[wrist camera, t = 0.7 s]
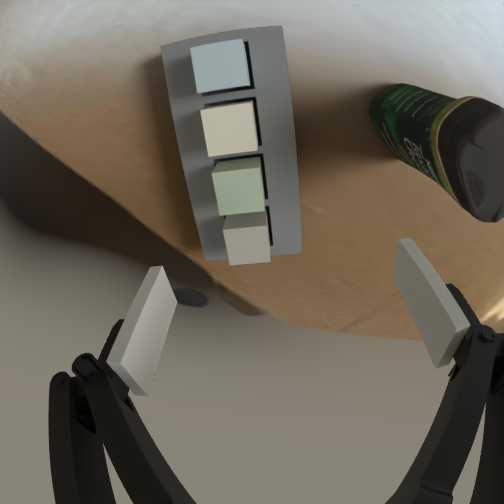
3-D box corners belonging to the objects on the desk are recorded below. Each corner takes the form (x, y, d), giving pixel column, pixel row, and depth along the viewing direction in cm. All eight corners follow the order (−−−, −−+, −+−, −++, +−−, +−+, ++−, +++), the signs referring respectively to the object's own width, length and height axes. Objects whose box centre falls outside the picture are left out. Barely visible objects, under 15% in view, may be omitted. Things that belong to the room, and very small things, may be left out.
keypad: (172, 50, 24) (160, 46, 21) (279, 32, 23) (281, 25, 20) (210, 244, 38) (205, 261, 35) (298, 236, 37) (302, 252, 34)
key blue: (199, 52, 22) (190, 47, 18) (244, 45, 21) (241, 38, 18) (206, 92, 24) (197, 93, 21) (250, 85, 24) (248, 85, 20)
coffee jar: (356, 106, 27) (451, 140, 12) (403, 74, 24) (516, 89, 9) (397, 169, 31) (485, 248, 16) (438, 138, 28) (540, 196, 13)
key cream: (208, 107, 25) (200, 110, 22) (252, 100, 25) (251, 102, 21) (215, 147, 27) (208, 157, 24) (257, 142, 27) (257, 150, 24)
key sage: (217, 161, 28) (211, 173, 25) (259, 156, 28) (259, 167, 24) (224, 199, 31) (219, 215, 27) (264, 195, 30) (264, 210, 27)
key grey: (227, 212, 32) (222, 229, 28) (265, 208, 31) (266, 225, 28) (233, 245, 34) (229, 265, 31) (269, 242, 34) (270, 261, 30)
